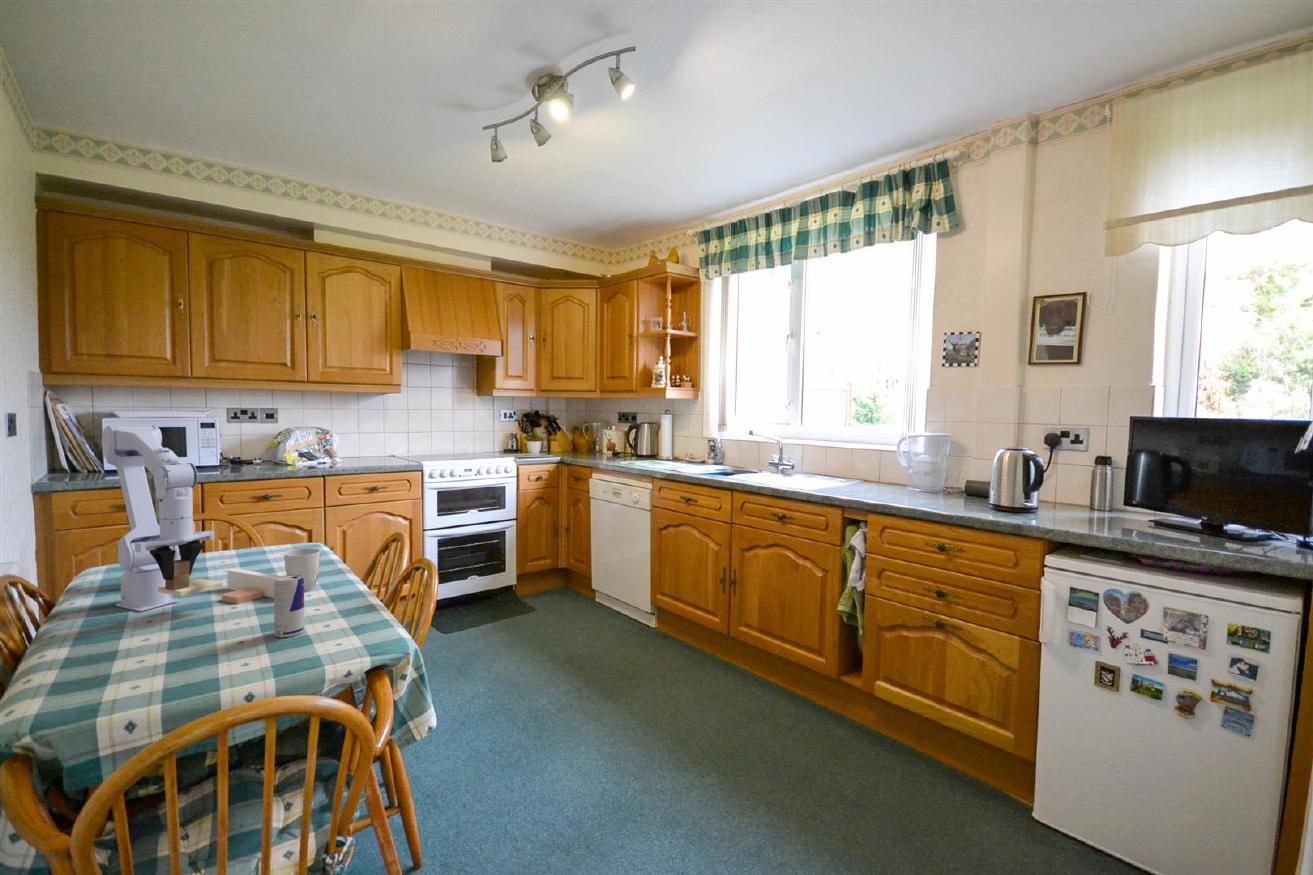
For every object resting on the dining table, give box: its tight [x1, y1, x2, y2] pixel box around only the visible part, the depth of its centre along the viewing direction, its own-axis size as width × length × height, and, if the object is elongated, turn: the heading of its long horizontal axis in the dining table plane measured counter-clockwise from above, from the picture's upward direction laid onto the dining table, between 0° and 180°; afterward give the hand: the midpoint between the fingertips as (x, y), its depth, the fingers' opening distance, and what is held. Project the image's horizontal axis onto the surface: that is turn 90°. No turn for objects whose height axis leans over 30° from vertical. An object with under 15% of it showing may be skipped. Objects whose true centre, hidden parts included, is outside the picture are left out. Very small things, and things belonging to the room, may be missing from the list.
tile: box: [221, 588, 264, 605], centre depth 140 cm, size 6×6×2 cm
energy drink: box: [273, 574, 305, 639], centre depth 119 cm, size 5×5×12 cm
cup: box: [283, 547, 321, 593], centre depth 148 cm, size 8×8×10 cm
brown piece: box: [158, 559, 223, 597], centre depth 129 cm, size 8×8×7 cm
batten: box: [226, 568, 281, 599], centre depth 144 cm, size 22×2×5 cm, turn 70°
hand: (177, 577), depth 127 cm, fingers closed on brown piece, 3 cm apart
